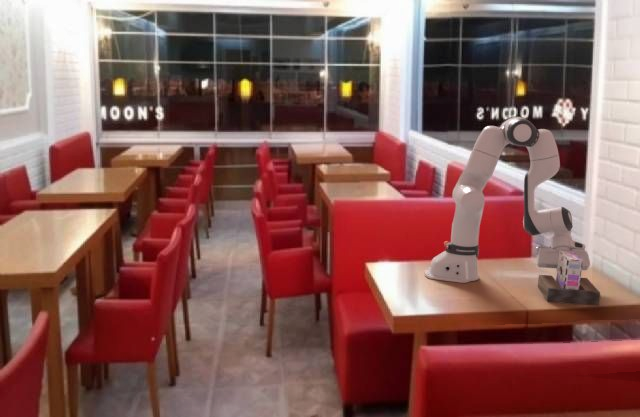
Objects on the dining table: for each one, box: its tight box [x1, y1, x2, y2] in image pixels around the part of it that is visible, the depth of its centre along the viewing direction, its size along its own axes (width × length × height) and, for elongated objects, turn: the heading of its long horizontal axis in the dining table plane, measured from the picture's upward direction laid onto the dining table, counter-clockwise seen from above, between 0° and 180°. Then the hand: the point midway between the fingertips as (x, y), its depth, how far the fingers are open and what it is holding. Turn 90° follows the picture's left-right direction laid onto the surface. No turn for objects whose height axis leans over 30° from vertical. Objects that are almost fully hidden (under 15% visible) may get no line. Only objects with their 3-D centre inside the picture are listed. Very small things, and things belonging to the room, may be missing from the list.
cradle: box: [537, 274, 601, 306], centre depth 263 cm, size 19×19×5 cm
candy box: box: [555, 251, 583, 290], centre depth 261 cm, size 14×6×16 cm, turn 173°
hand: (564, 277), depth 269 cm, fingers closed, pressing on candy box
